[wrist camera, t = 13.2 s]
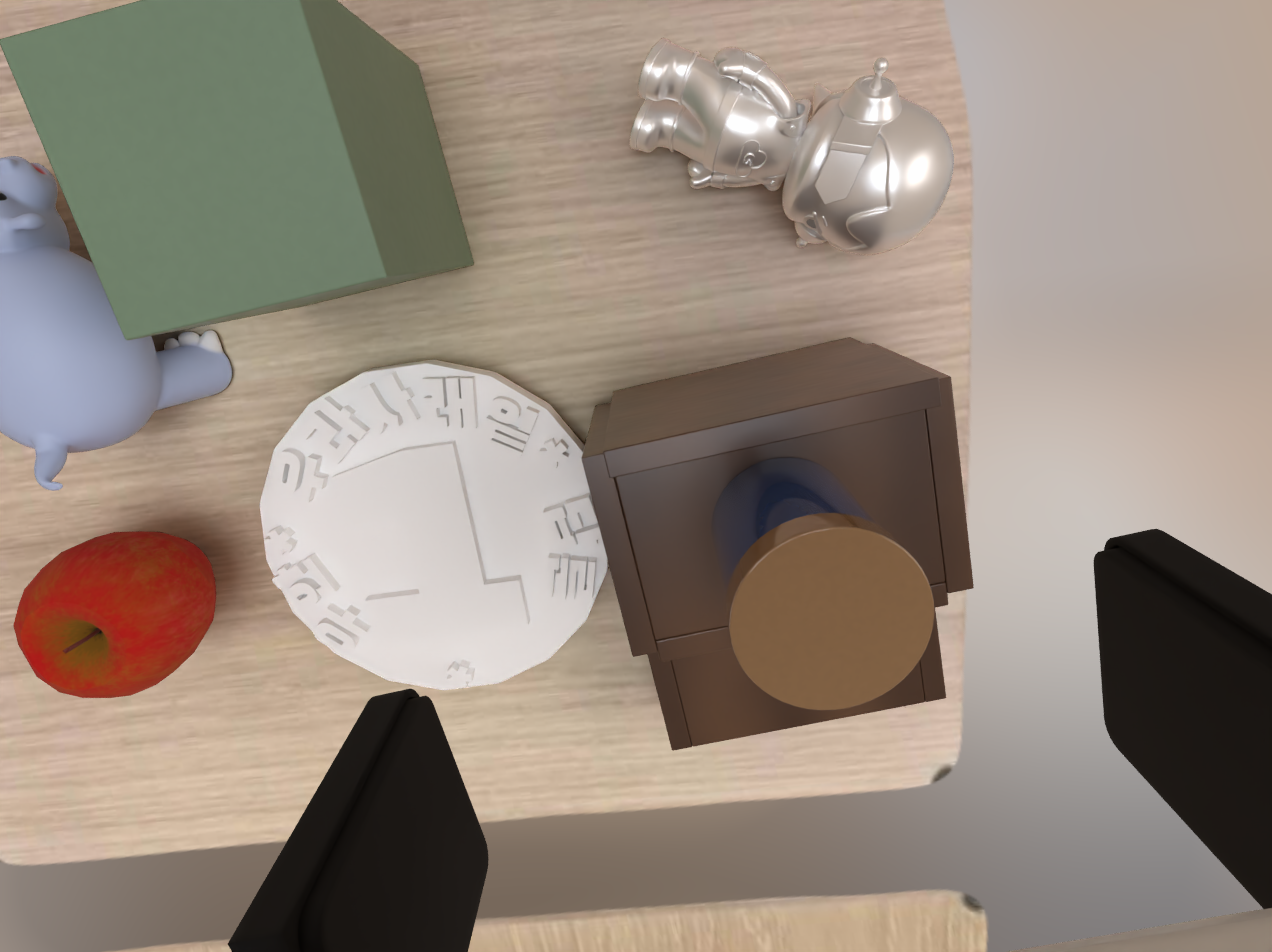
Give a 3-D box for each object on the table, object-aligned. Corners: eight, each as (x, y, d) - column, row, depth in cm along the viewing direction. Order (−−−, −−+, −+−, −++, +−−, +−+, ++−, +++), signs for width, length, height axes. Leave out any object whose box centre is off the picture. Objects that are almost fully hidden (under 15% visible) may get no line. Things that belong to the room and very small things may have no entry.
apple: (242, 644, 48) (133, 754, 38) (107, 598, 47) (-42, 699, 37) (274, 526, 46) (168, 610, 35) (133, 476, 45) (-18, 547, 34)
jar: (847, 437, 33) (922, 506, 24) (869, 578, 35) (945, 690, 26) (692, 470, 33) (711, 551, 25) (722, 608, 35) (749, 727, 26)
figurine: (636, 15, 31) (988, 157, 29) (701, -65, 34) (1017, 59, 33) (607, 217, 40) (875, 331, 39) (661, 137, 43) (907, 240, 42)
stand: (418, 64, 38) (286, -41, 24) (474, 264, 41) (387, 277, 27) (232, 112, 39) (-4, 39, 25) (300, 306, 42) (124, 341, 28)
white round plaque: (267, 637, 48) (244, 661, 45) (289, 326, 42) (263, 333, 39) (579, 693, 49) (575, 720, 46) (641, 398, 43) (641, 409, 41)
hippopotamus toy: (161, 149, 40) (18, 121, 30) (253, 425, 44) (153, 474, 35) (-33, 187, 40) (-230, 171, 31) (77, 457, 44) (-67, 512, 35)
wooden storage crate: (872, 332, 42) (969, 370, 30) (916, 652, 48) (1012, 796, 36) (592, 395, 43) (573, 457, 31) (669, 701, 49) (679, 857, 37)
